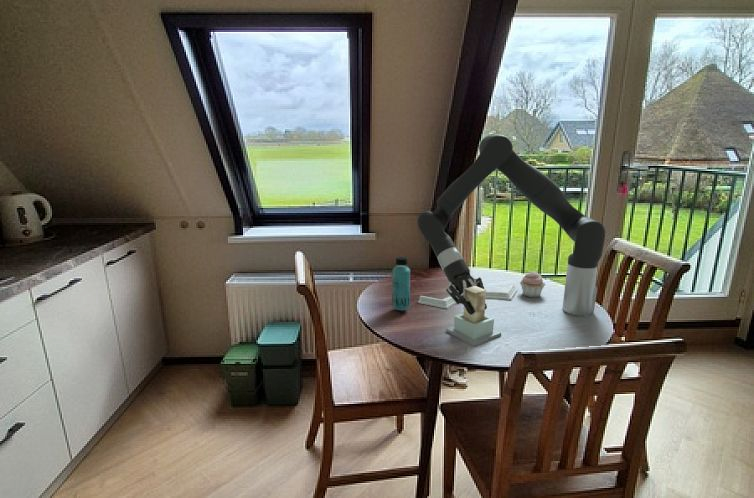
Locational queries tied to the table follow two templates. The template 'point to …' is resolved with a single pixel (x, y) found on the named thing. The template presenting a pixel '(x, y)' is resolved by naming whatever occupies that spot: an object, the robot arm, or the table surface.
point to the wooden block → (475, 304)
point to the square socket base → (473, 330)
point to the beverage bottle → (401, 285)
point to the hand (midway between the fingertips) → (478, 311)
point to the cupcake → (532, 284)
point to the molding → (449, 301)
